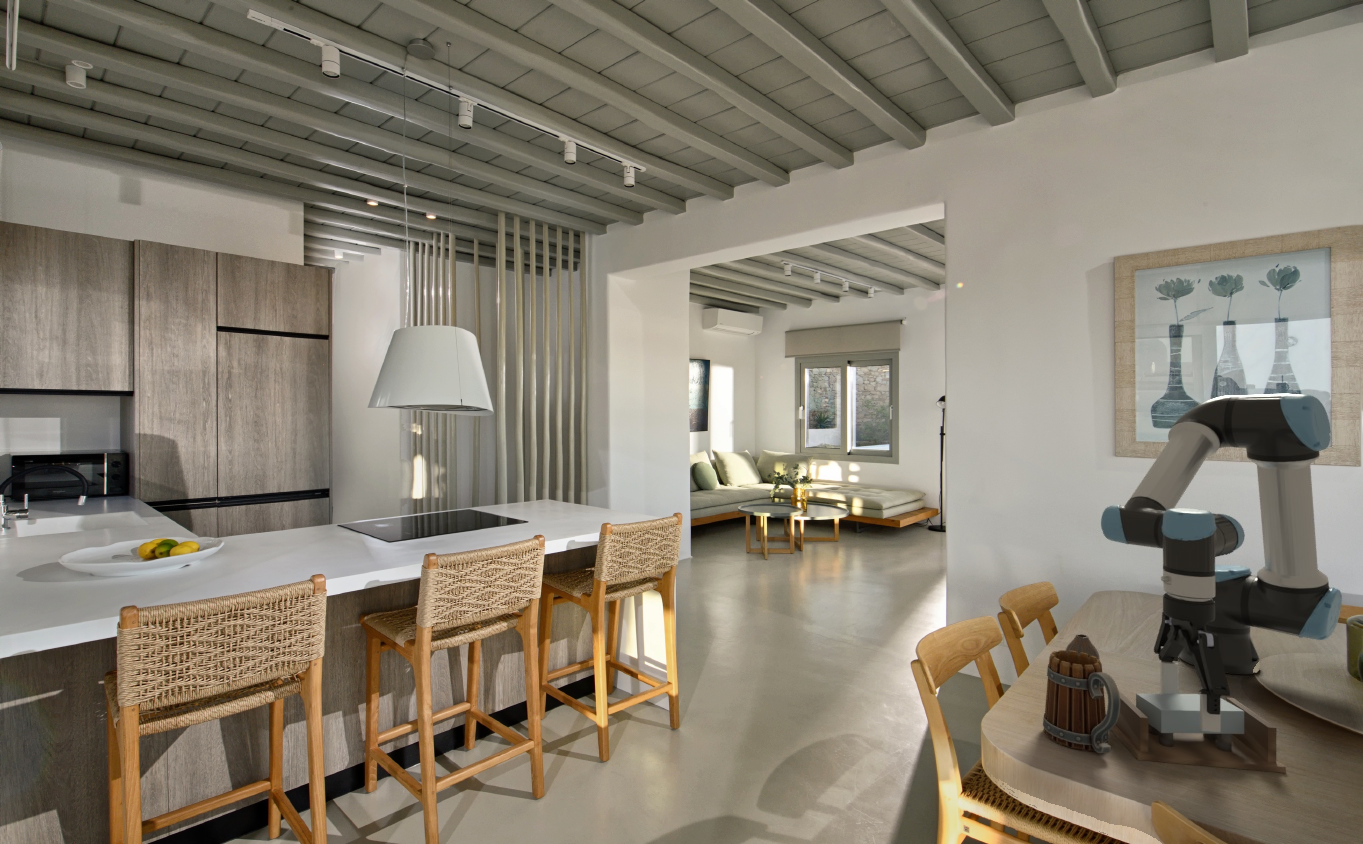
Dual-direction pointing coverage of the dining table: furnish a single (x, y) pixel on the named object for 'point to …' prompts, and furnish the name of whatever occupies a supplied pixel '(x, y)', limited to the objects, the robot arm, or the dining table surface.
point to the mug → (1079, 702)
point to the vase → (1082, 646)
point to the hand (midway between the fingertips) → (1188, 713)
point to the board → (1186, 713)
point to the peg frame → (1200, 742)
